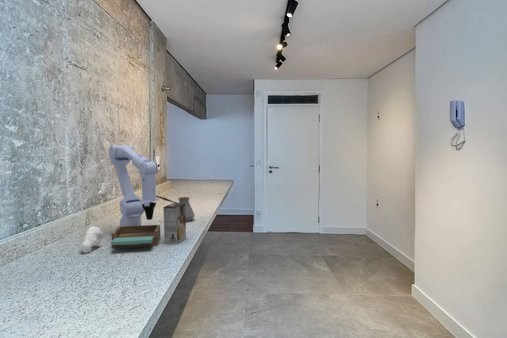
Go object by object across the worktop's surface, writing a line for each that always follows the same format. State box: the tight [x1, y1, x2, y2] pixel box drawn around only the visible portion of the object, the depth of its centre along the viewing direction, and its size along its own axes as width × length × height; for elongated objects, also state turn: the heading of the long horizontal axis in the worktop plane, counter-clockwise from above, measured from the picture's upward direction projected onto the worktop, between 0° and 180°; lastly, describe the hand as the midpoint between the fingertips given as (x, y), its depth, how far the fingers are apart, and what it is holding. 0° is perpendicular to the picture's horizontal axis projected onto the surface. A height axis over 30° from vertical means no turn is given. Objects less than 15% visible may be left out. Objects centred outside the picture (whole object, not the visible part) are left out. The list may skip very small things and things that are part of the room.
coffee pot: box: [156, 195, 195, 223], centre depth 177 cm, size 21×12×15 cm, turn 107°
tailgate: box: [110, 236, 154, 246], centre depth 128 cm, size 2×15×7 cm
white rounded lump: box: [79, 225, 104, 254], centre depth 129 cm, size 6×8×12 cm
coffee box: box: [163, 202, 187, 245], centre depth 140 cm, size 9×6×16 cm
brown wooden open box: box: [111, 224, 161, 249], centre depth 138 cm, size 12×18×6 cm, turn 100°
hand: (149, 219), depth 141 cm, fingers closed
